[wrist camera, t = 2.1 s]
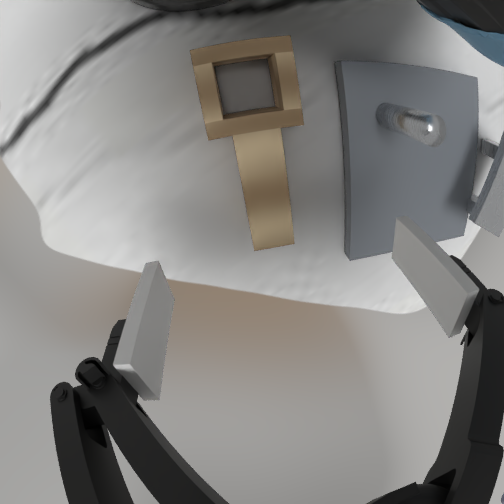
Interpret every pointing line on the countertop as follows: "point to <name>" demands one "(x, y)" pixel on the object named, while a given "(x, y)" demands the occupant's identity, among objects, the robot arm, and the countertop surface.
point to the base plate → (405, 153)
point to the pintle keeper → (433, 134)
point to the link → (256, 131)
